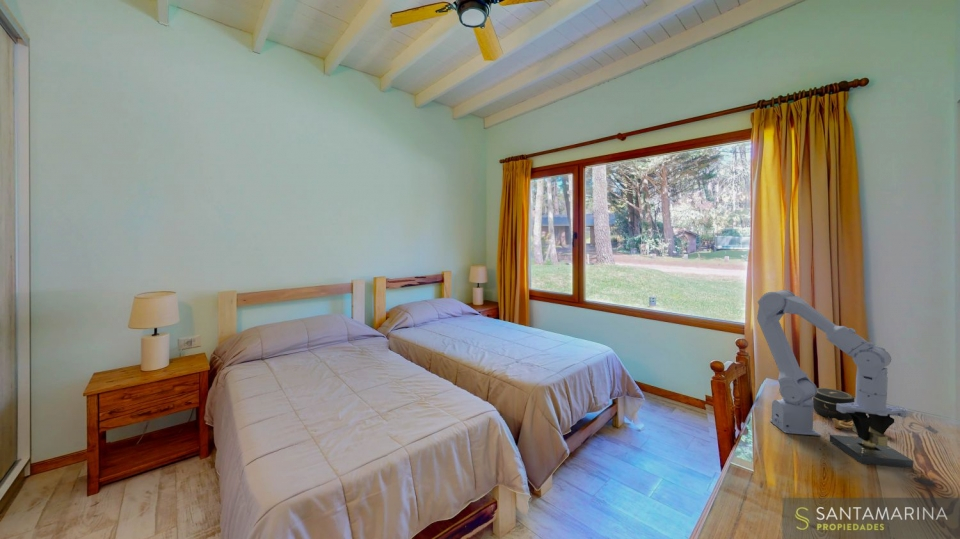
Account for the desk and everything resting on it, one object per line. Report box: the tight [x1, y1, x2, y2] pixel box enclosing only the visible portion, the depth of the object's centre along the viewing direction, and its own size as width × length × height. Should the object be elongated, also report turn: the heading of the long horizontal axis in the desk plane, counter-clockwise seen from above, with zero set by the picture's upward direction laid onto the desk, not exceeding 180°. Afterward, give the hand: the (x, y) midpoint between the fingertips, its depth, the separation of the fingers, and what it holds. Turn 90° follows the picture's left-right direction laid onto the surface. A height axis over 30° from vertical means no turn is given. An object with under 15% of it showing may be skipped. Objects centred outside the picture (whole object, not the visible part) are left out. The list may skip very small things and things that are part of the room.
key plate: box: [829, 434, 914, 469], centre depth 96 cm, size 11×11×2 cm
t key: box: [852, 423, 889, 450], centre depth 96 cm, size 8×2×6 cm, turn 168°
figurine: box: [831, 418, 853, 429], centre depth 108 cm, size 8×6×12 cm
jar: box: [812, 387, 855, 422], centre depth 119 cm, size 10×10×8 cm
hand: (869, 439), depth 96 cm, fingers closed on t key, 2 cm apart
